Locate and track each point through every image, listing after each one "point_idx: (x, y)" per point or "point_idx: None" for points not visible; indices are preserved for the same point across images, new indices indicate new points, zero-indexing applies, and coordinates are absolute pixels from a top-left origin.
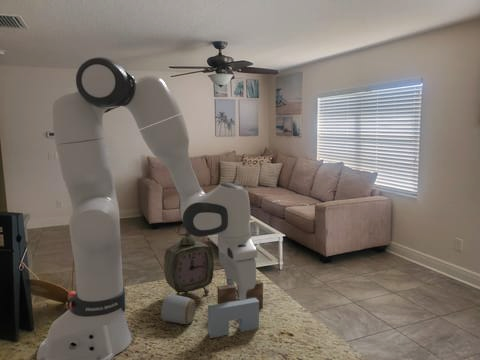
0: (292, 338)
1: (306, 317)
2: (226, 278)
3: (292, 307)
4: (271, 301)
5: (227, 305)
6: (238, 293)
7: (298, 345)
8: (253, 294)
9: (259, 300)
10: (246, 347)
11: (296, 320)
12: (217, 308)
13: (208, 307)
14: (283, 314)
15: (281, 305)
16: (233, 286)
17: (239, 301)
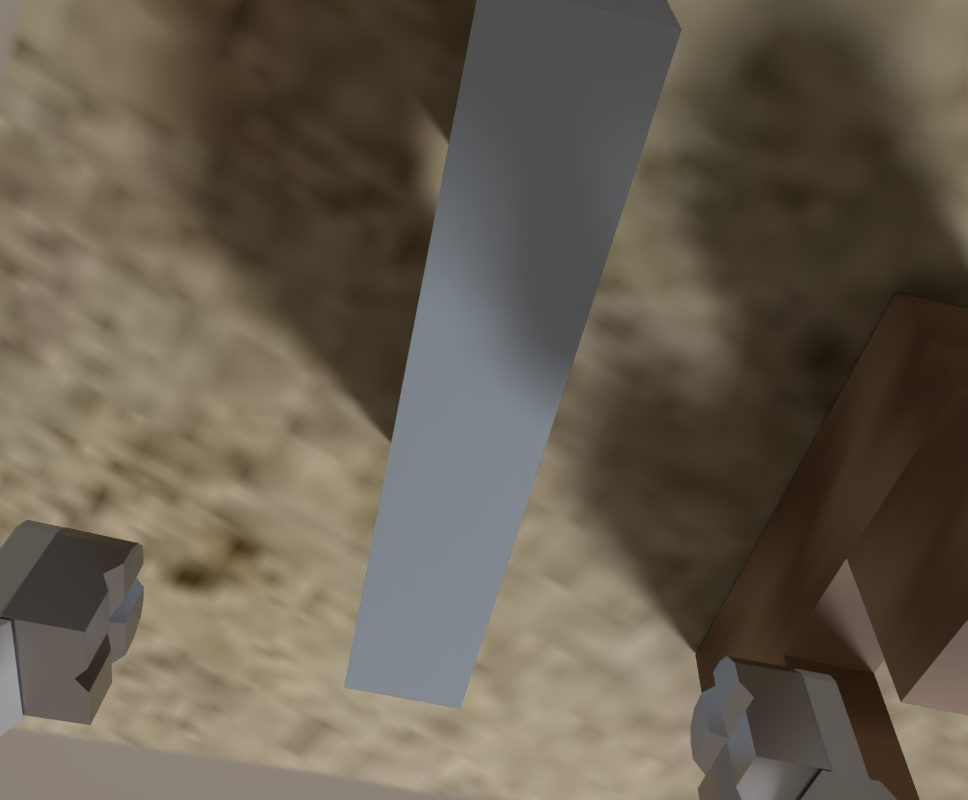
0: None
1: (357, 760)
2: (875, 780)
3: (537, 777)
4: None
5: (465, 344)
6: (39, 618)
7: None
8: None
9: None
10: (136, 179)
11: (356, 702)
12: (457, 143)
13: (630, 14)
14: (487, 692)
15: (616, 750)
16: (949, 690)
17: (481, 535)
